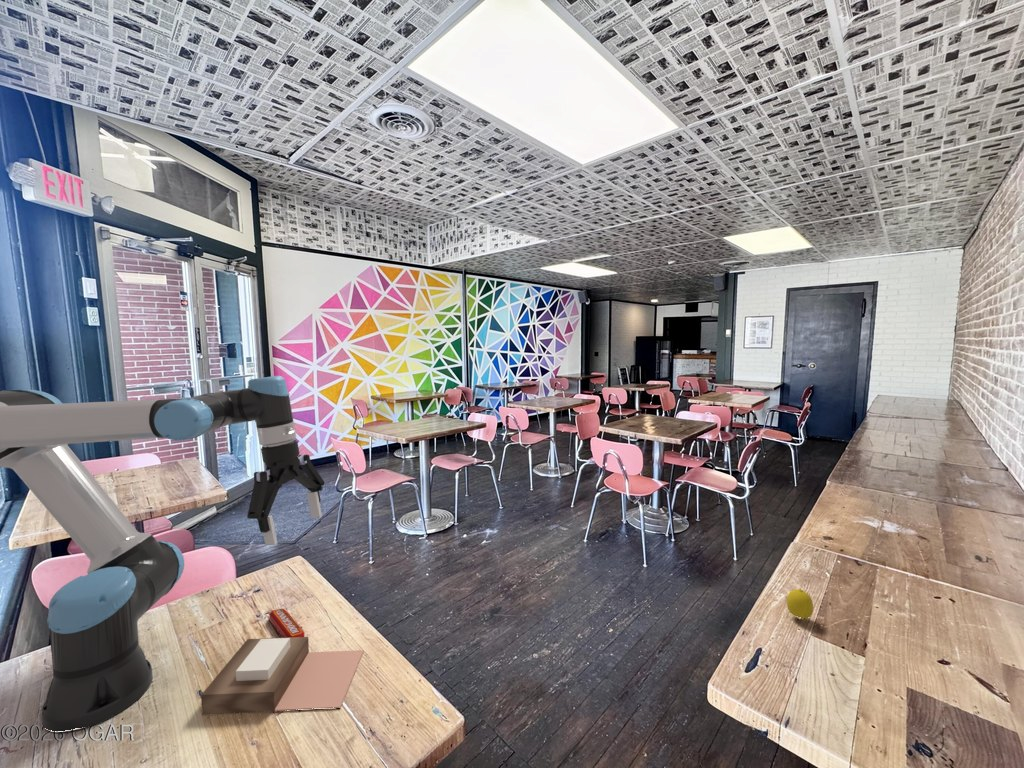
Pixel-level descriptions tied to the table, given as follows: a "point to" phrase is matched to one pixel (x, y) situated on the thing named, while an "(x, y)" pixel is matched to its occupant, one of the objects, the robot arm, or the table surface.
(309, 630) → the table surface
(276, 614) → the candy bar
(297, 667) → the serving board
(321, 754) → the table surface
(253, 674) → the tile
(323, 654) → the mat
